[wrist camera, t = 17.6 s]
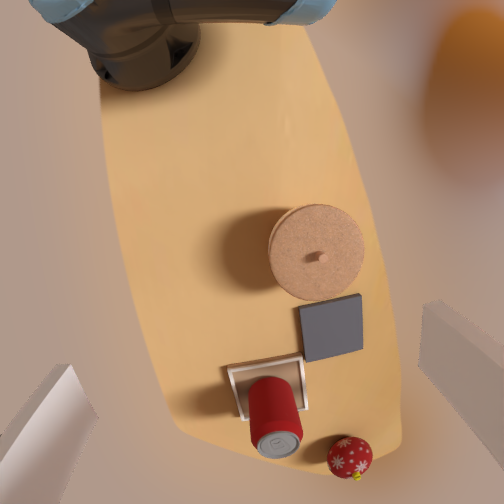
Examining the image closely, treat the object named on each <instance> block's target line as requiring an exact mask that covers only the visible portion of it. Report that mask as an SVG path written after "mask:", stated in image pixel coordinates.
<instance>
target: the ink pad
mask: <svg viewBox="0 0 504 504" xmlns="http://www.w3.org/2000/svg"><path fill="white" fill-rule="evenodd" d="M298 307H299V315H300V322H301V330H302V338H303V347H304V355H305V361H306V363H307V362H312V361H316V360H321V359H325V358H329V357H334V356H338V355H342V354H346V353H350V352H354V351H357V350H361V349H363V318H362V296H361V295H360V294H359V293H358V294H353V295H349V296H345V297H340V298H336V299H331V300H326V301H322V302H317V303H312V304H307V305H302V306H298Z"/></svg>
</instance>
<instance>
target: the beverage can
mask: <svg viewBox="0 0 504 504" xmlns="http://www.w3.org/2000/svg"><path fill="white" fill-rule="evenodd" d="M248 402H249V420H250V433H251V442H252V444H253V446H254V447H255V448H256V449H257V450H258V452H259V453H260V454H261V455H262V456H264V457H267V458H272V459H279V458H284V457H287V456H290V455H292V454H293V453H295V452H296V451H297V450H298V448H299V446H300V442H301V440H302V437H303V430H302V426H301V422H300V418H299V414H298V410H297V406H296V402H295V399H294V395H293V391H292V388H291V386H290V384H289V383H288V382H287V381H285V380H284V379H281V378H278V377H266V378H263V379H260V380H258V381H256V382H255V383H254V384H253V385H252V386H251V387H250V389H249V392H248Z"/></svg>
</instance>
